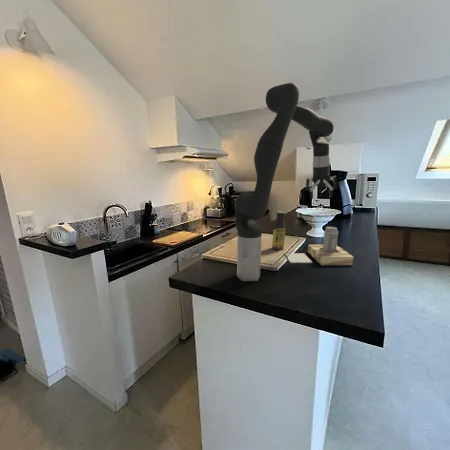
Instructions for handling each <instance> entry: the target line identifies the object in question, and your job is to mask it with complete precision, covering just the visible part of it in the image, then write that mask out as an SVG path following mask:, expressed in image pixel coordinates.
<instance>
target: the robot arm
mask: <svg viewBox="0 0 450 450" xmlns="http://www.w3.org/2000/svg"><path fill="white" fill-rule="evenodd" d="M299 97H300V90H299V86H298V85H297V84H295V83H294V82H287V83H282V84H278V85H275V86H273V87H271V88H269V89H268V90H267V92H266V94H265V104H266V107H267V108H268V110H269V111H271V112H272V113H275V114H276V115H275V117H274V119H273V120H272V122H271V123H270V125H269V126H268V128H266V130H265V131H264V132H263V134H262V135H261V136H260V138H259V139H258V142H257V145H256V149H255V153H254V156H253V162H254V164H253V165H254V168H255V172H256V183H255V188H254V189H253V193H252V192H242V193H239V194H238V196H237V198H236V200H235V203H234V204H235V205H234V216H235V217H234V218H235V223H234V224H235V228H236V230H237V246H236V247H237V250H236V251H237V252H236V253H237V254H236V258H237V259H236V277H237V278H238V279H239V280H240V281H241V282H258V281H259V279H260V278H261V259H262V257H261V255H262V232H263V231H262V228H261V226H260V225H258V223H256V221H255V220H260V219H263V217H264V216H265V215H266V212H267V210H268V205H269V201H270V196H271V191H272V186H273V181H274V179H275V178H274V177H275V174H276V170H277V167H278V163H279V160H280V158H281V153H282V150H283V146H284V143H285V140H286V136H287V133H288V129H289V126H290V124H291V122H292V121H293V122H295V123H297V124H298V125H300V126H301V127H303V128H305V129H306V130H307V131H308V133H309V137H310V138H309V139H310V140H311V144H312V154H313V157H312V178H311V177H310V178H309V177H307V178H306V180H305V182H306V183H305V189H306V191H308V192H309V198H310V199H312V200H313V199H314V190H315V189H316V187H327V188H328V189H329V190H328V191H329V194H328V195H329V196H328V197H329V198H330V199H331V198H332V197H333V195H334V194H333V193H334V190H337V189H338V179H337V176H336V175H334V176H330V175H331V174H330V162H331V161H330V144H329V142H326V141H323V140H322V139H321V138H324V137H325V138H326V137H329V136H331V135H332V134H333V132H334V129H335V128H334V123H333V122H332V121H331V120H330V119H329V118H326V117H324V116H321V115H319V114H317V113H316V112H315V111H314V110H312V109H311V108H308V107H306V106H302V105H300V104H298V103H299V99H300V98H299ZM330 181H332V182H333V186H332V185H331V184H330V183H329V182H330ZM311 182H312V183H313V184H312V185H311V186H310V183H311Z"/></svg>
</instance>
